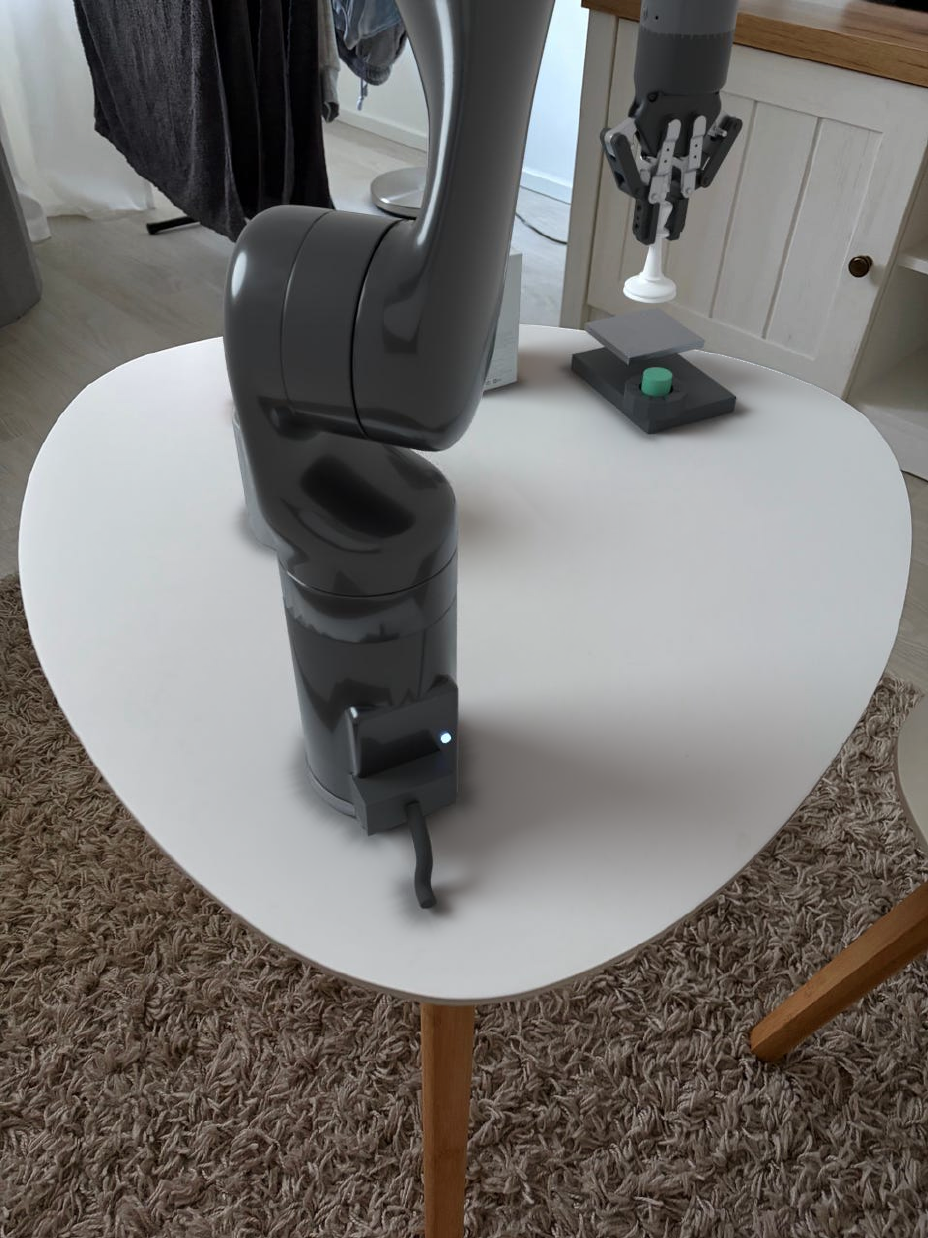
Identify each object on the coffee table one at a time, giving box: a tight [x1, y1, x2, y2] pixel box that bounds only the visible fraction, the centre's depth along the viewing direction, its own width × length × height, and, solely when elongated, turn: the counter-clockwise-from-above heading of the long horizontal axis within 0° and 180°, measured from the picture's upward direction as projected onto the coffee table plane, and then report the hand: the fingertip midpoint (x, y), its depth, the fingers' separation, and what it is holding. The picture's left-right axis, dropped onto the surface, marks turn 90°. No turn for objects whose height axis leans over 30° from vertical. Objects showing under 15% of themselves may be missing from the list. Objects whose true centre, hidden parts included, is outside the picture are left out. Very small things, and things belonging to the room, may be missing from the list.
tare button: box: [641, 367, 672, 396], centre depth 90 cm, size 3×3×2 cm
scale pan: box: [583, 307, 706, 365], centre depth 96 cm, size 8×9×1 cm
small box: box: [484, 245, 523, 392], centre depth 95 cm, size 8×6×13 cm
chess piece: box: [622, 180, 677, 304], centre depth 89 cm, size 5×5×10 cm
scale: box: [570, 346, 738, 435], centre depth 95 cm, size 15×11×4 cm
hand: (657, 238), depth 89 cm, fingers closed on chess piece
